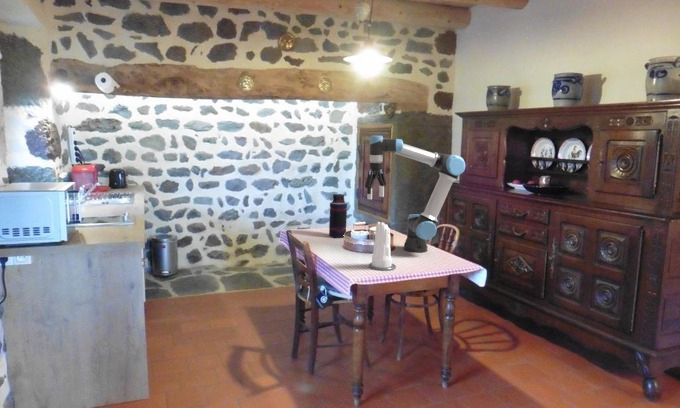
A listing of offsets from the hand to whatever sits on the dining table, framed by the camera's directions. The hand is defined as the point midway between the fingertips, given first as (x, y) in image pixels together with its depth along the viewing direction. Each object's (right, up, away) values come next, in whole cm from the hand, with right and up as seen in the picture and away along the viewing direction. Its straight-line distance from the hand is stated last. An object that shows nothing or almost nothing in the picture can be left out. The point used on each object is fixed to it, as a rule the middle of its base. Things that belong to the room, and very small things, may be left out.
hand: (375, 198), depth 288 cm
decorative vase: (+2, -38, -19) cm, 42 cm away
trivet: (+2, -38, -19) cm, 43 cm away
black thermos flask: (-23, -27, +55) cm, 66 cm away
